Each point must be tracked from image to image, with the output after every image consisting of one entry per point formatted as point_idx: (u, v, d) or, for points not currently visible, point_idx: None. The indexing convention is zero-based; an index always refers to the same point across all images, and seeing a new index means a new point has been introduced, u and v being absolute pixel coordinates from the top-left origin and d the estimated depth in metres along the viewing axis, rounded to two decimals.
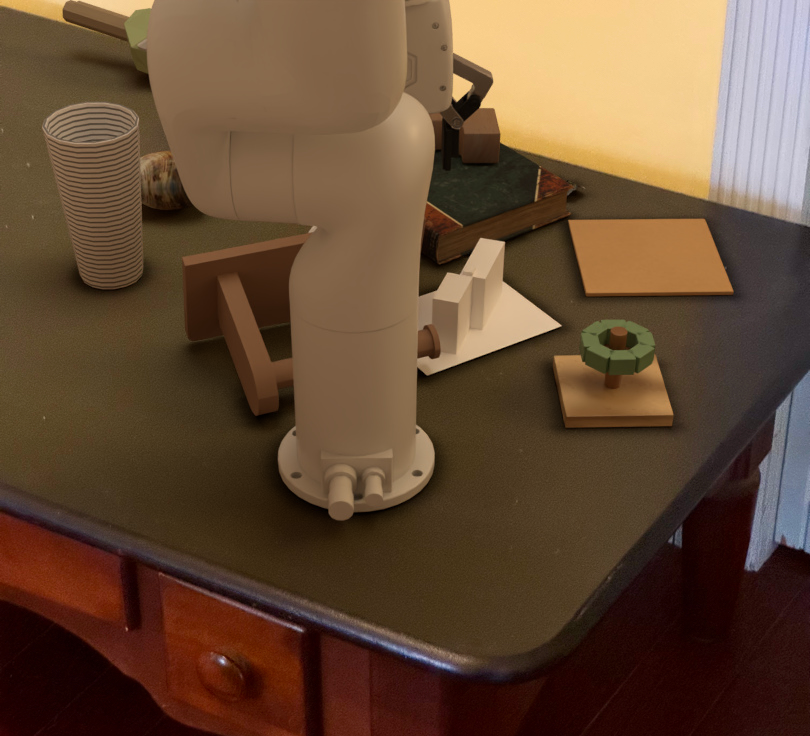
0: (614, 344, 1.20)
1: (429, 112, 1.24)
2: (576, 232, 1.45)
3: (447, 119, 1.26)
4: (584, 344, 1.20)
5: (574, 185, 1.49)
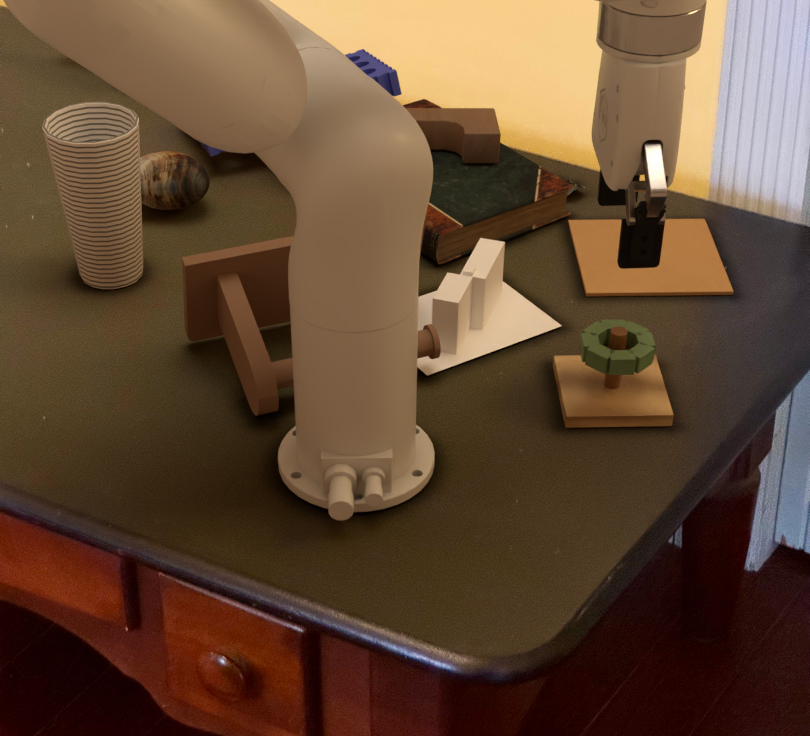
0: (614, 344, 1.20)
1: (606, 182, 1.08)
2: (576, 232, 1.45)
3: (626, 208, 1.08)
4: (584, 344, 1.20)
5: (575, 185, 1.49)
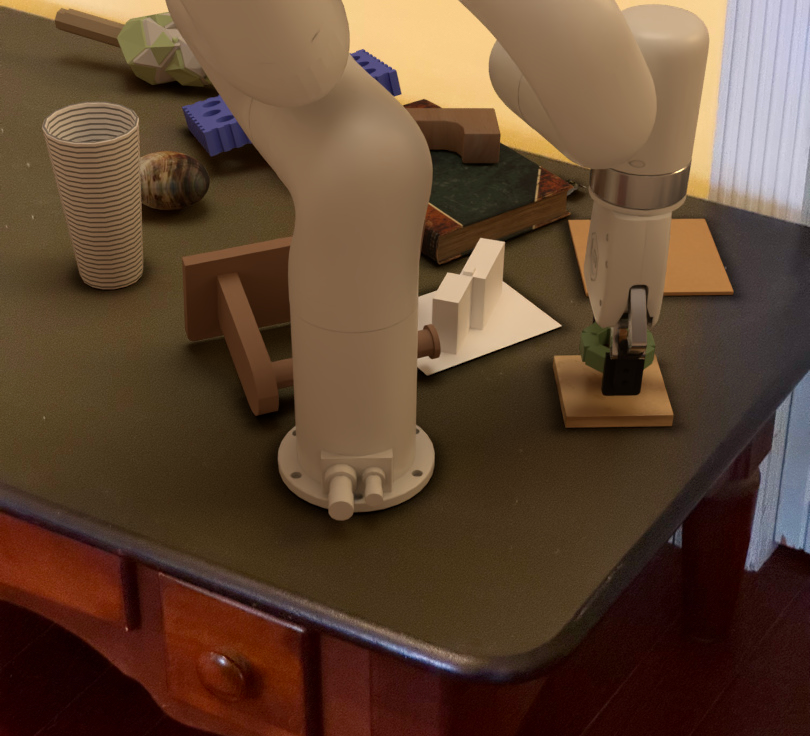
0: None
1: (595, 319, 1.15)
2: (576, 232, 1.45)
3: None
4: (584, 344, 1.20)
5: (575, 184, 1.49)
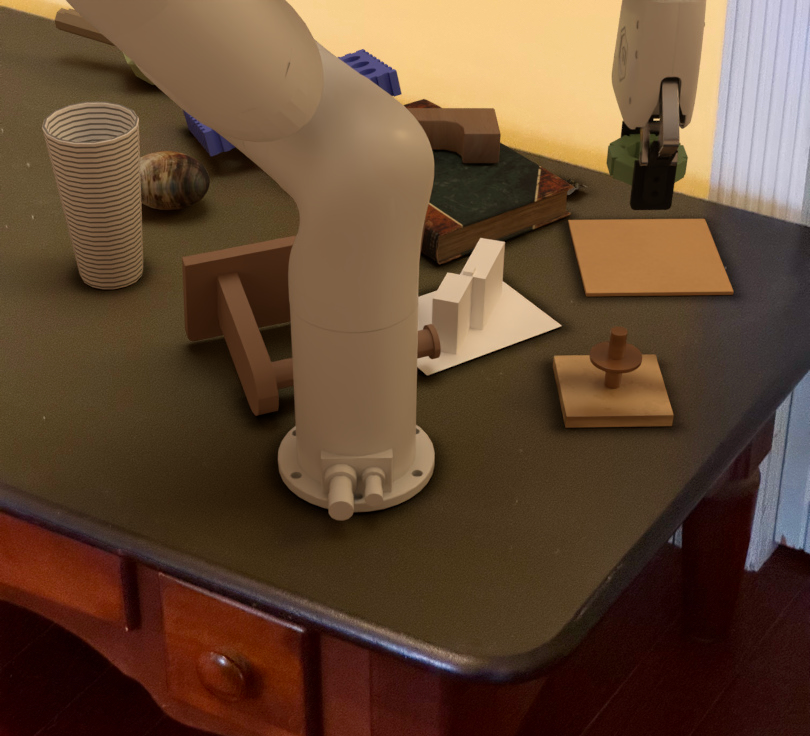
0: (614, 344, 1.20)
1: (624, 121, 1.09)
2: (576, 232, 1.45)
3: None
4: (612, 155, 1.13)
5: (576, 184, 1.49)
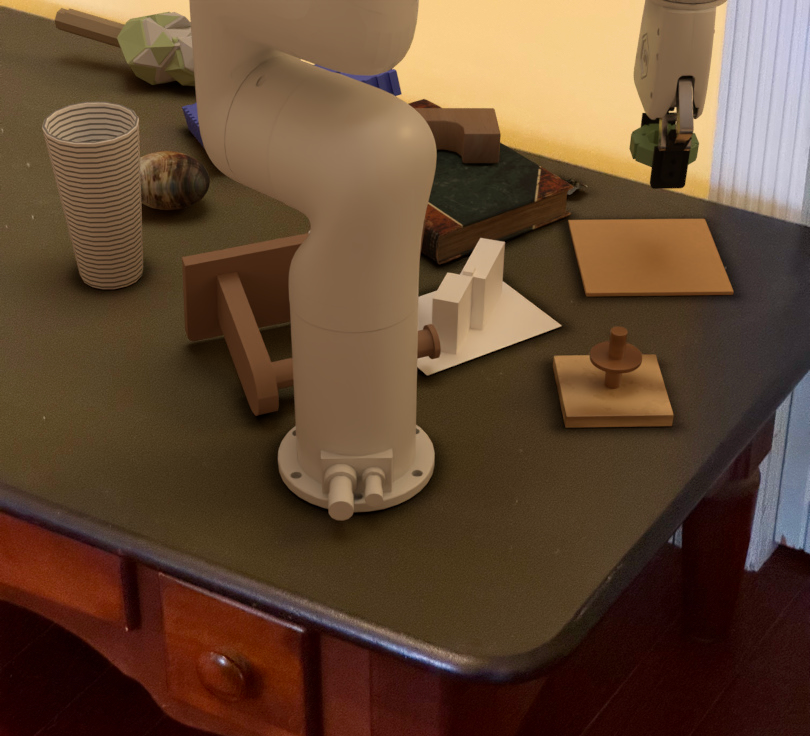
0: (614, 344, 1.20)
1: (646, 113, 1.29)
2: (576, 232, 1.45)
3: None
4: (635, 142, 1.33)
5: (577, 184, 1.50)
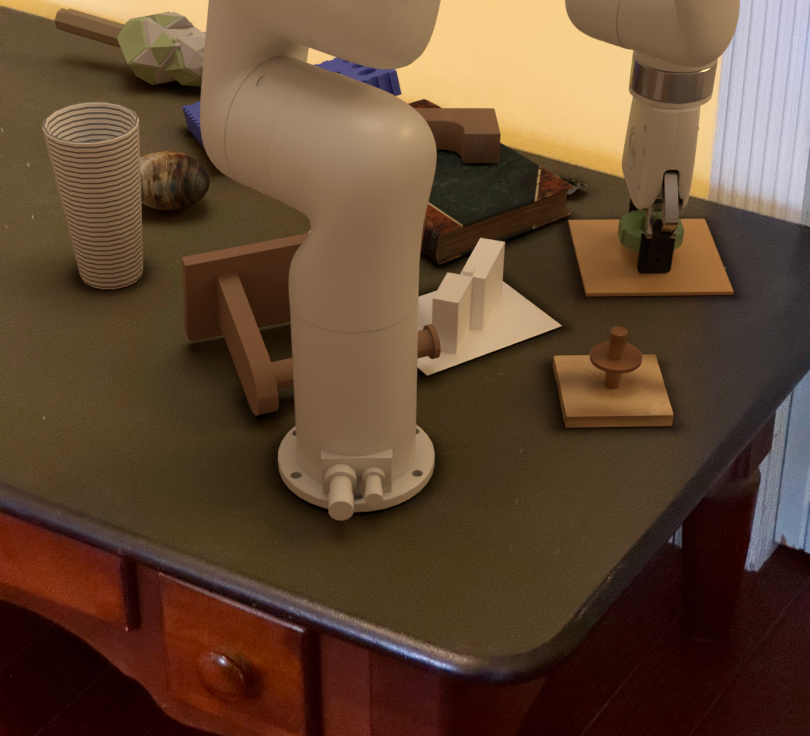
0: (614, 344, 1.20)
1: (633, 202, 1.34)
2: (576, 232, 1.45)
3: (645, 224, 1.36)
4: (622, 228, 1.39)
5: (578, 183, 1.50)
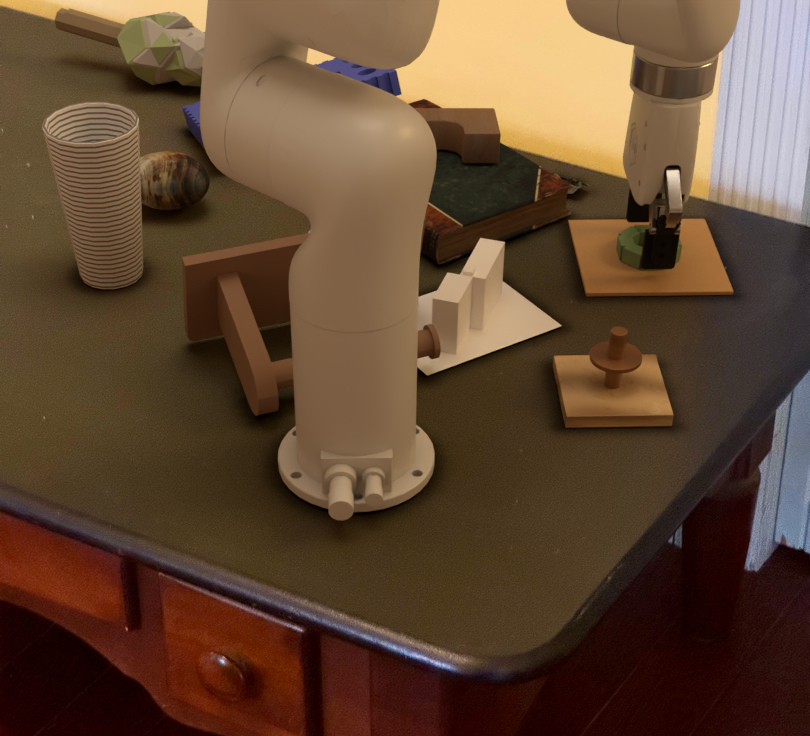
0: (614, 344, 1.20)
1: (634, 198, 1.34)
2: (576, 232, 1.45)
3: (649, 220, 1.34)
4: (621, 244, 1.40)
5: (579, 183, 1.50)
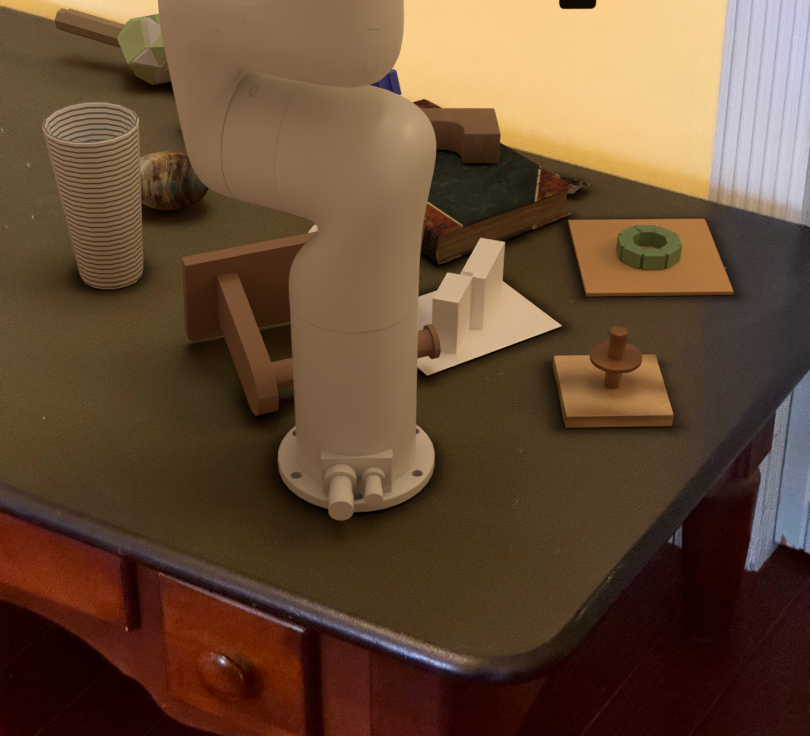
0: (614, 344, 1.20)
1: None
2: (576, 232, 1.45)
3: None
4: (621, 244, 1.40)
5: (580, 182, 1.50)
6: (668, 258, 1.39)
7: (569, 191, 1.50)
